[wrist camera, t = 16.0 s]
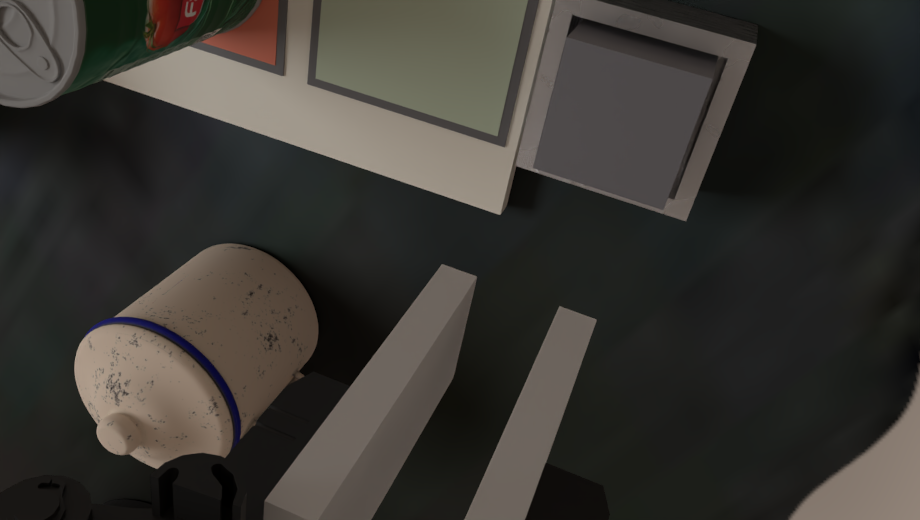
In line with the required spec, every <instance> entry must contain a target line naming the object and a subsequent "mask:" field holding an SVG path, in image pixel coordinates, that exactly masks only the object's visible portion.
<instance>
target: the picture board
mask: <svg viewBox="0 0 920 520" xmlns="http://www.w3.org/2000/svg"><path fill="white" fill-rule="evenodd" d="M555 2H556V0H262V1H261V3H260V5H259V7H258V8H257V9H256V11H255V12H254V13H253V15H252V16H251V17H250V18H249V19H248V20H247V21H245V22H244V23H243V24H242V25H241V26H239V27H238V28H235V29H233V30H231V31H229V32H226V33H222V34H217V35H215V36H213V37H211V38H208V39H206V40H204V41H202V42H198V43H196V44H194V45H191V46H188V47H185V48H183V49H181V50H179V51H175V52H173V53H170V54H168V55H166V56H162V57H160V58H158V59H155V60H153V61H149V62H147V63H145V64H143V65H140V66H136V67H134V68H132V69H130V70H127V71H125V72H121V73H119V74H117V75H114V76H112V77H110V78H106V79H104V81H107V82H110V83H113V84H116V85H119V86H122V87H125V88H128V89H130V90H133V91H136V92H139V93H142V94H145V95H148V96H151V97H154V98H157V99H160V100H163V101H166V102H169V103H172V104H175V105H178V106H181V107H184V108H186V109H189V110H192V111H195V112H198V113H201V114H204V115H207V116H210V117H213V118H216V119H219V120H222V121H225V122H228V123H231V124H234V125H237V126H239V127H242V128H245V129H248V130H251V131H254V132H257V133H260V134H263V135H266V136H269V137H272V138H275V139H278V140H281V141H284V142H287V143H290V144H293V145H295V146H298V147H301V148H304V149H307V150H310V151H313V152H316V153H319V154H322V155H325V156H328V157H331V158H334V159H337V160H340V161H343V162H346V163H348V164H351V165H354V166H357V167H360V168H363V169H366V170H369V171H372V172H375V173H378V174H381V175H384V176H387V177H390V178H393V179H396V180H399V181H402V182H404V183H407V184H410V185H413V186H416V187H419V188H422V189H425V190H428V191H431V192H434V193H437V194H440V195H443V196H446V197H449V198H452V199H455V200H457V201H460V202H463V203H466V204H469V205H472V206H475V207H478V208H481V209H484V210H487V211H490V212H493V213H496V214H499V215H501V213H502V212H503V210H504V209H505V208H506V206H507V203H508V198H509V194H510V190H511V186H512V182H513V178H514V174H515V170H516V166H515V165H516V161H517V157H518V153H519V149H520V144H521V140H522V136H523V132H524V128H525V124H526V120H527V116H528V112H529V108H530V104H531V100H532V95H533V91H534V87H535V83H536V79H537V75H538V71H539V67H540V63H541V59H542V55H543V51H544V46H545V42H546V38H547V34H548V30H549V26H550V22H551V18H552V14H553V10H554V6H555Z"/></svg>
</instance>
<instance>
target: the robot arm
mask: <svg viewBox="0 0 920 520" xmlns="http://www.w3.org/2000/svg"><path fill="white" fill-rule="evenodd" d="M476 279H477V277H476V276H474V275H471V274H468V273H465V272H462V271H460V270H457V269H454V268H451V267H449V266H446V265H443V264H442V265H441V266H440V268H439V269H438V270H437V272H436V273H435V274H434V276H433V277H432V278H431V280H430V281H429V282H428V284H427V285H426V286H425V288H424V289H423V290H422V292H421V293H420V294H419V296H418V297H417V298H416V300H415V301H414V302H413V304H412V305H411V306H410V308H409V309H408V310H407V312H406V313H405V314H404V316H403V317H402V318H401V320H400V321H399V322H398V324H397V325H396V326H395V328H394V329H393V330H392V332H391V333H390V334H389V336H388V337H387V338H386V340H385V341H384V342H383V344H382V345H381V346H380V348H379V349H378V350H377V352H376V353H375V354H374V356H373V357H372V358H371V360H370V361H369V362H368V364H367V365H366V366H365V368H364V369H363V370H362V372H361V373H360V374H359V376H358V377H357V378H356V380H355V381H354V382H353V384H352V385H351V386H349V385H346V384H344V383H341V382H339V381H336V380H334V379H331V378H329V377H326V376H324V375H321V374H319V373H316V372H312V373H310V374H308V375H306V376H304V377H302V378H300V379H298V380H296V381H295V382H293V383H291V384H289V385H288V386H287V387H286V388H285V389H284V390H283V391H282V392H281V394H280V395H279V396H278V397H277V398H276V399H275V401H274V402H273V403H272V404H271V406H270V408H269V409H267V410H266V411H265V412H264V413H263V414H262V416H261V417H260V418H259V419H258V420H257V422H256V425H255V426H254V425H253V426H252V427H251V428H250V430H249V431H248V432H247V433H246V434H245V435H244V436H243V438H242V439H241V440H240V441H239V442H238V443H237V445H236V446H235V447H234V448H233V449H232V450H231V452H230V453H229V454H228V455H227V456H226V457H225V458H224V457H222V456H219V455H213V454H207V453H195V454H187V455H182V456H179V457H177V458H175V459H172V460H170V461H168V462H165V463H164V464H162V465H161V466H160V467H159V468H158V469H157V470H156V471H154V472H153V473H152V474H151V475H150V483H151V499H152V504H148V503H145V502H141V501H136V500H128V499H118V500H112V501H108V502H105V503H103V504H102V505H100V504H91V499H90V493H89V492H88V491H87V490H86V489H85V488H84V486H83V485H82V484H81V483H80V482H78V481H75V480H73V479H70V478H68V477H65V476H52V475H43V476H39V477H35V478H30V479H26V480H23V481H21V482H19V483H17V484H15V485H13V486H11V487H10V488H8V489H6V490H4V491H3V492H1V493H0V520H371V519H372V517H373V516H374V514H375V512H376V510H377V509H378V507H379V505H380V504H381V502H382V500H383V498H384V497H385V495H386V493H387V491H388V490H389V488H390V486H391V485H392V483H393V481H394V479H395V478H396V476H397V474H398V472H399V471H400V469H401V467H402V466H403V464H404V462H405V460H406V459H407V457H408V455H409V453H410V452H411V450H412V448H413V447H414V445H415V443H416V441H417V440H418V438H419V436H420V434H421V433H422V431H423V429H424V428H425V426H426V424H427V422H428V421H429V419H430V417H431V415H432V414H433V412H434V410H435V408H436V407H437V405H438V403H439V402H440V400H441V398H442V396H443V395H444V393H445V391H446V389H447V388H448V386H449V384H450V383H451V381H452V379H453V377H454V373H455V369H456V364H457V360H458V356H459V352H460V347H461V343H462V339H463V335H464V330H465V326H466V322H467V318H468V313H469V309H470V305H471V301H472V296H473V292H474V288H475V284H476ZM595 323H596V319H594V318H591V317H588V316H585V315H583V314H580V313H577V312H574V311H571V310H569V309H566V308H563V307H560V306H559V309H558V311H557V313H556V315H555V317H554V320H553V322H552V324H551V326H550V329H549V331H548V333H547V335H546V338H545V340H544V342H543V344H542V347H541V349H540V351H539V353H538V356H537V358H536V360H535V362H534V365H533V367H532V369H531V371H530V374H529V376H528V378H527V380H526V383H525V385H524V387H523V389H522V392H521V394H520V396H519V398H518V401H517V403H516V405H515V407H514V409H513V412H512V414H511V416H510V418H509V421H508V423H507V425H506V427H505V430H504V432H503V434H502V436H501V439H500V441H499V443H498V445H497V448H496V450H495V452H494V454H493V457H492V459H491V461H490V463H489V466H488V468H487V470H486V472H485V475H484V477H483V479H482V481H481V484H480V486H479V488H478V490H477V493H476V495H475V497H474V499H473V502H472V504H471V506H470V508H469V510H468V513H467V515H466V517H465V519H464V520H608V519H609V515H610V514H609V509H608V505H607V501H606V496H605V492H604V488H603V486H602V485H600V484H597V483H595V482H592V481H590V480H587V479H585V478H582V477H580V476H577V475H575V474H572V473H570V472H567V471H565V470H562V469H560V468H558V467H555V466H553V465H550V464H548V463H546V461H547V458H548V456H549V453H550V450H551V447H552V444H553V442H554V439H555V436H556V433H557V430H558V428H559V425H560V422H561V419H562V416H563V414H564V411H565V408H566V405H567V402H568V400H569V397H570V394H571V391H572V388H573V385H574V383H575V380H576V377H577V374H578V371H579V368H580V366H581V363H582V360H583V357H584V354H585V351H586V349H587V346H588V343H589V340H590V337H591V334H592V332H593V329H594V326H595Z"/></svg>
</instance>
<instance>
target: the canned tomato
mask: <svg viewBox="0 0 920 520" xmlns="http://www.w3.org/2000/svg"><path fill="white" fill-rule="evenodd" d="M261 1H262V0H0V104H1V105H4V106H10V107H17V108H28V107H36V106H42V105H44V104H46V103H48V102H50V101H53V100H55V99H57V98H58V97H59V96H61V95H64V94H67V93H70V92H73V91H76V90H79V89H82V88H84V87H86V86H88V85H90V84H95V83H97V82H99V81H101V80H104V79H106V78H110V77H112V76H114V75H117V74H119V73H121V72H125V71H127V70H130V69H132V68H134V67H136V66H140V65H143V64H145V63H147V62H149V61H153V60H155V59H158V58H160V57H162V56H166V55H168V54H170V53H173V52H175V51H179V50H181V49H183V48H185V47H188V46H191V45H194V44H196V43H198V42H202V41H204V40H206V39H208V38H211V37H213V36H215V35H217V34H222V33H226V32H229V31H231V30H233V29H235V28H238V27H239V26H241V25H242V24H243V23H244V22H245V21H247V20H248V19H249V18H250V17H251V16H252V15H253V13H254V12H255V11H256V9H257V8H258V7H259V5H260V3H261Z"/></svg>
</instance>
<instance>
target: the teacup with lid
mask: <svg viewBox="0 0 920 520" xmlns="http://www.w3.org/2000/svg"><path fill="white" fill-rule="evenodd" d="M317 340H318V319H317V315H316V311H315V308H314V305H313V303H312V301H311V298H310V297H309V295H308V293H307V291H306V290H305V288H304V286H303V285H302V284H301V282H300V281H299V280H298V279H297V277H296V276H295V275H294V274H293V273H292V272H291V271H290V270H289V269H288V268H287V267H286V266H284V265H283V264H282V263H281V262H279V261H278V260H277V259H275V258H274V257H272V256H270V255H269V254H267V253H265V252H263V251H261V250H258V249H256V248H253V247H250V246H246V245H241V244H233V243H228V244H219V245H215V246H211V247H209V248H207V249H205V250H203V251H202V252H200V253H199V254H198V255H196V256H195V257H194V258H192V259H191V260H190V261H188V262H187V263H186V264H184V265H183V266H182V267H180V268H179V269H178V270H176V271H175V272H174V273H172V274H171V275H170V276H168V277H167V278H166V279H164V280H163V281H162V282H160V283H159V284H158V285H156V286H155V287H154V288H152V289H151V290H150V291H148V292H147V293H146V294H144V295H143V296H142V297H140V298H139V299H138V300H136V301H135V302H134V303H132V304H131V305H130V306H128V307H127V308H126V309H124V310H123V311H122V312H120V313H119V314H118V315H116V316H115V317H113V318H109V319H106V320H103V321H101V322H99V323H98V324H96V325H94V326H93V327H92V328H91V329H90V330H89V331H88V332H87V334H86V335H85V337H84V339H83V340H82V342H81V343H80V345H79V348H78V350H77V354H76V358H75V379H76V383H77V387H78V390H79V393H80V395H81V398H82V400H83V402H84V404H85V406H86V408H87V410H88V411H89V413H90V414H91V416H92V417H93V419H94V420H95V422H96V423H97V424H98V426H97V437H98V439H99V441H100V443H101V444H102V445H103V446H104V447H105V448H106V449H107V450H108V451H110V452H112V453H114V454H117V455H127V454H130V455H131V456H133V457H134V458H136V459H138V460H139V461H141V462H143V463H145V464H147V465H149V466H151V467H154V468H156V469H158V468H159V467H160V466H161V465H162V464H164V463H165V462H168V461H170V460H172V459H175V458H177V457H179V456H182V455H187V454H195V453H207V454H213V455H219V456H222V457H224V458H225V457H226V456H227V455H228V454H229V453H230V452H231V450H232V449H233V448H234V447H235V446H236V445H237V443H238V442H239V441H240V439H241V438H243V436H244V435H245V434H246V433H247V432H248V431H249V430H250V428H251V427H252V426H253V425H254V426H255V425H256V422H257V421H256V420H257V419H258V418H259V417H260V415H261V414H262V413H263V412H264V411H265V410H266V408H267V407H268V406H269V405H270V404H271V403H272V402H273V400H274V399H275V398H276V397H277V396H278V395H279V393H280V392H281V391H282V390H283V389H284V388H285V387H287V386H288V385H289V384H291V383H293V382H295V381H296V380H298V379H300V378H302V377H304V375H303V374H301V373H300V372H299V370H300V369H301V368H302V367H303V366H304V365H305V363H306V362H307V361H308V360H309V359H310V357H311V356H312V354H313V352H314V350H315V347H316V345H317Z"/></svg>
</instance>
